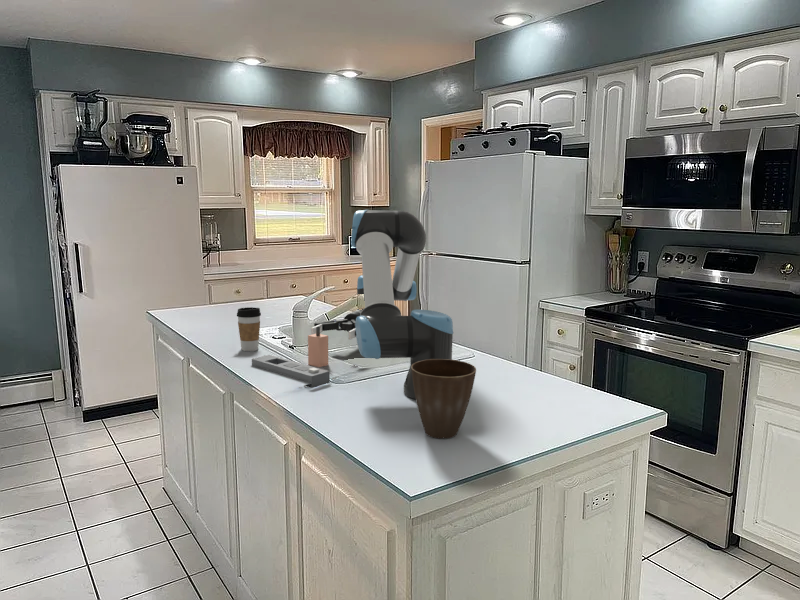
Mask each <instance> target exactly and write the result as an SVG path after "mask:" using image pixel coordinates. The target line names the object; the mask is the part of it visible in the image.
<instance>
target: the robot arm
mask: <svg viewBox="0 0 800 600" xmlns="http://www.w3.org/2000/svg"><path fill="white" fill-rule="evenodd" d="M350 237H351V238H350V245H351V246H352V247H353V248H356V251H357V252H358V254H359V255H360V256H361V265H362V266H361V269H362V275H359V276H358V277H357V281H356V282H357V284H356V286H357V287H356V294H357V295H358V294H364V301H365V308H364V309H362V310H359V309H357V308H356V310H354V311H352V312H349V313H347V315H345V316H344V318H343V319H339V320H338V319H331V320H325V321H324V320H323V321H320V322H314V323H313V324H314V325H313V327H311V329H310V331H311V334H310V335H312V334H316V327H317V326H319V327H320V334H322V333H323V332H327V331H335V330H336V331H339V332H341V331H345V332H346V331H347V332H348V340H353V339H355V338H356V343H357V347H358V351H359V354H360V355H361V356H362V357H363V358H365V359H375V360H380V359H396V358H397V359H398V358H400V359H402V358H403V359H404V358H406V359H407V358H409V359H410V365H409V369H408V371H407V375H406V378H405V379H404V380H405V381H404V383H403V394H404V395H405V396H406V397H408V398H411V399H413V400H414V399H415V400H416V397H415V392H414V386H413V378H412V370H411V366H412V364H414V363H416V362H418V361H422V360H429V359H450V360H453V337H454V335H453V334H454V326H453V318H452V317H451V316H449V315H448V314H447V313H443V312H440V311H436V310H430V309H429V310H428V309H420V308H419V309H412V310H411V312H410V315H402V313H401V312H402V311H401V310H400V308H399V307H398V306H397V305H396V304H395V301H397V302H398V301H404V302H407V301H414V300H415V299H417V292H418V291H417V283H416V281H415V280H414V279H415V275H416V270H417V266H418V263H419V259H420V255H421V253H422V252H423V251H424V249H425V247H426V242H427V233H426V230H425V227H424V225H423V224H422V222H421V221H420V220H419V219H418V218H417V217H416V215H414V214H412V213H410V212H408V211H404V210H387V209H385V210H384V209H380V210H379V209H363V210H361V209H358V210H356V211H355V212H354V213H353V218H352V228H351V236H350ZM393 248H398V249H397V255H396V258H395V263H394V270H393V275H392V268H391V267H392V266H391V259H390V253H391V252H392V250H393Z"/></svg>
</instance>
